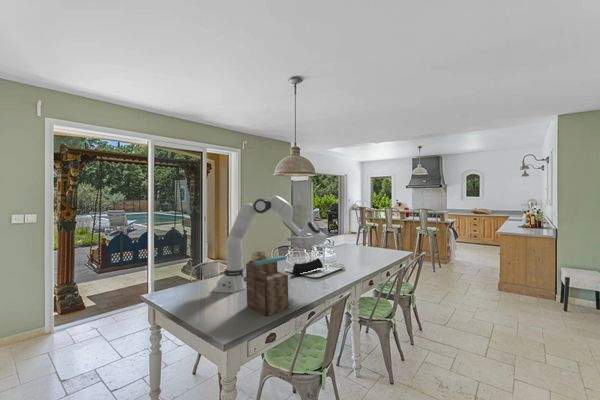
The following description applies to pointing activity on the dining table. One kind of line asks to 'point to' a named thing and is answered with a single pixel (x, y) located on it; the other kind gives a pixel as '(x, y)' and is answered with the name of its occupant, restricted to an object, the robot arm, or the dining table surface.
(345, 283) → the dining table surface
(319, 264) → the magazine
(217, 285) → the robot arm
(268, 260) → the slat
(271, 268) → the rack
